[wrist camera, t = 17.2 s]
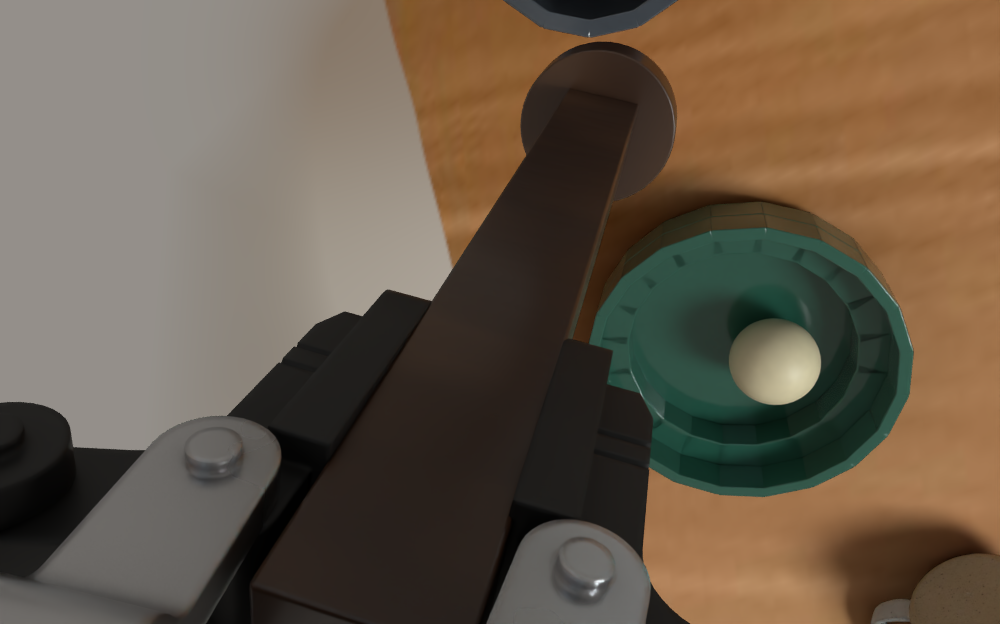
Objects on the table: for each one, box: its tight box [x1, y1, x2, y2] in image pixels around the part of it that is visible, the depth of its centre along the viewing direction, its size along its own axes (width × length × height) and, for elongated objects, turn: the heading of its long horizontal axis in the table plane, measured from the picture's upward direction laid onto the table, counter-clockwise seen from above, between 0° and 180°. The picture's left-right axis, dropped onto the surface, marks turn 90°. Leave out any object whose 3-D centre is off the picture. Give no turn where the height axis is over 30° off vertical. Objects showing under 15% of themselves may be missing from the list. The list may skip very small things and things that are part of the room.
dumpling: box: [729, 318, 821, 405], centre depth 37 cm, size 4×4×4 cm
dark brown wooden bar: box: [249, 42, 677, 624], centre depth 14 cm, size 4×4×18 cm
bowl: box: [589, 202, 914, 497], centre depth 38 cm, size 15×15×4 cm
